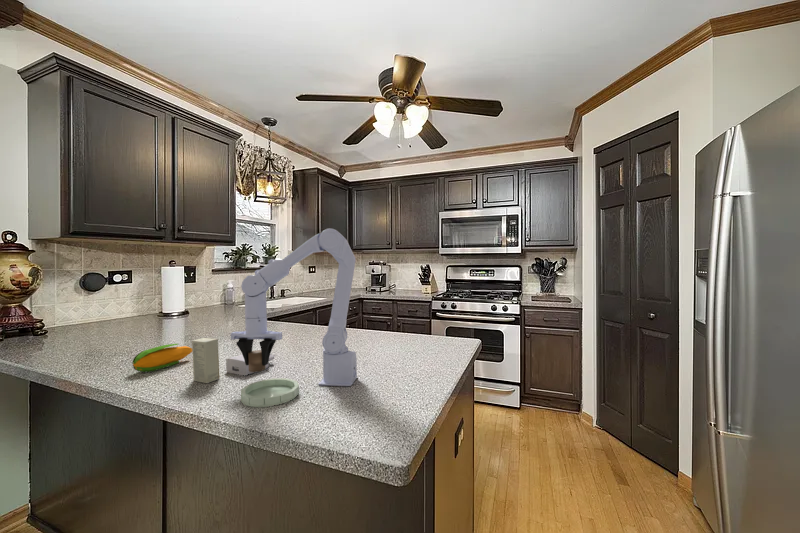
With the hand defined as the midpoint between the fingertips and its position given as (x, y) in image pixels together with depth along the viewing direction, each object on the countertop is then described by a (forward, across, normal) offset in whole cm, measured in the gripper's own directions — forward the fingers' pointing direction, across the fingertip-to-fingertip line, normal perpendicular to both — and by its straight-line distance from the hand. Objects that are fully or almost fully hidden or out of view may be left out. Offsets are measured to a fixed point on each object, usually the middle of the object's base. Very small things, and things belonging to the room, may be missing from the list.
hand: (257, 364), depth 99 cm
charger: (+6, +9, -15) cm, 18 cm away
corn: (+6, +40, -14) cm, 43 cm away
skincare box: (+6, +17, -2) cm, 18 cm away
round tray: (+6, -8, +8) cm, 13 cm away
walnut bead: (+1, 0, 0) cm, 1 cm away
